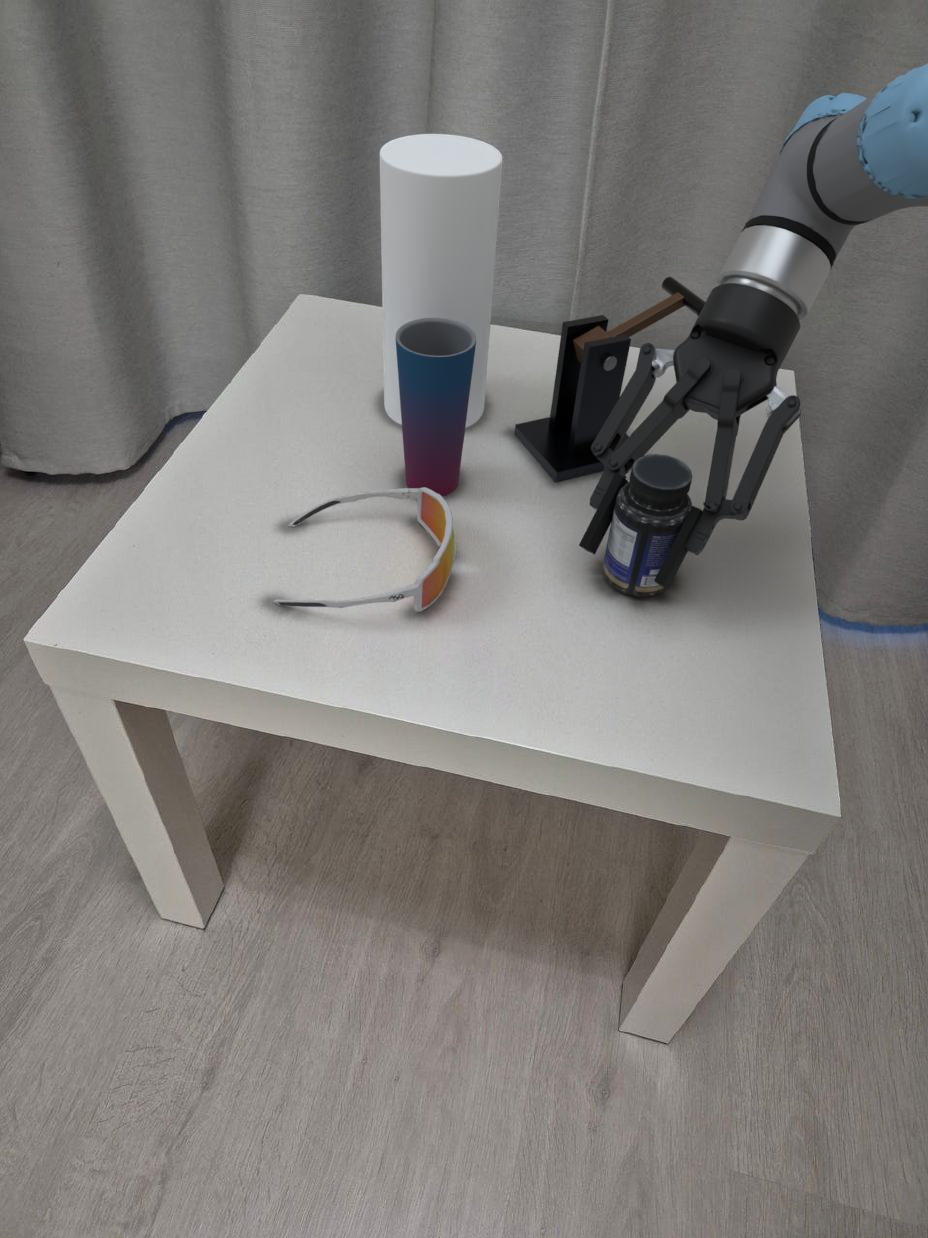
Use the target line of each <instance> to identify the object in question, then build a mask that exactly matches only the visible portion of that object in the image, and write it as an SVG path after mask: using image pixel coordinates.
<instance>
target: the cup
mask: <svg viewBox="0 0 928 1238" xmlns="http://www.w3.org/2000/svg"><path fill="white" fill-rule="evenodd" d="M395 339H396V352H397V366H398V379H399V393H400V406H401V420H402V425H401V432H402V433H401V434H402V447H403V458H404V472H405V473H404V475H405V483H406V487H407V488H422V487H426V488H428V489H430V490H432V491H434V492H435V493H437V494H438V493H439V494H440V495H441V496H442V497H445V496H448V495H450V494H452V493H454V492H455V491H456V489H457V488H458V486H459V480H460V472H461V465H462V457H463V450H464V449H463V448H464V442H465V441H464V440H465V433H466V428H465V426H466V418H467V410H468V402H469V394H470V387H471V379H472V371H473V363H474V355H475V347H476V335H475V333H474V332H473V330H472V329H471V328H469V327H468V326H466V325H464V324H462V323H460V322H457V321H454V320H450V319H444V318H422V319H417V320H413V321H410V322H408V323H405V324H404V325H402V326H401V327H400V328H399V329H398V330H397V332H396V337H395Z"/></svg>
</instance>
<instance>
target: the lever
mask: <svg viewBox="0 0 928 1238" xmlns="http://www.w3.org/2000/svg"><path fill="white" fill-rule="evenodd" d="M661 288H662V290H664V292H665V293H667V294H669V297H667V298H665V299H663V300H661V301H660V302H658V303H656V304H654V305H653V306H651V307H649V308H647V309H645V310H644V311H642V312H640V313H638V314H637V315H635V316H632V317H631V318H630V319H628V320H626V321H624V322H623V323H620V324H619V325H617V326H615V327H613V328H612V329H610V330H607V332H605V331H604V330H603V329H602V328H601V327H599V326H597V327H595V328H594V329H592V330H590V331H588V332H587V333H585V334H583V335H581V336H579V337H578V338H576V339H574V340H573V342H574V347H575V351H576V355H577V360H578V361H579V362H580V363H581V362H582V356H583V349H584V343H585V342H589V341H594V340H600V339H605V338H610V337H615V336H621V335H627V336H628V337H629V338H630V337H632V336H634V335H636V334H639V333H640V332H641V331H643V330H645V329H647V328H648V327H650V326H652V325H654V324H656V323H657V322H659V321H661V320H663V319H664V318H667V317H668V316H669V315H671V314H674V312H676V311H678V310H681V309H682V308H684V307H685V308H687V309H688V310H690V312H692V313H693V314H695V315H696V316H697V317H698V316H699V314H700V312H701V310H702V308H703V306H704V304H705V302H706V300H704V299H703V298H701V297H700V296H698V295H697V294H696V293H695V292H693V291H691V290H690V289H689V288H688V287H686V286H685V285H684V284H682V283H681V282H679V281H678V280H677V279H675V278H674V277H673V276H667V277H665V278H664V279H663V281H662V283H661Z"/></svg>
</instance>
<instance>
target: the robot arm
mask: <svg viewBox="0 0 928 1238" xmlns="http://www.w3.org/2000/svg"><path fill="white" fill-rule="evenodd" d="M782 145H783V146H782V147H781V149H780V151H779V155H778V158H777V160H776V162H775V164H774V165H773V168H772V169H771V172H770V174H769V176H768V178H767V180H766V182H765V184H764V185H763V188H762V190H761V192H760V194H759V196H758V198H757V200H756V202H755V204H754V206H753V208H752V210H751V212H750V213H749V216H748V218H747V220H746V222H745V225H744V226H743V228H742V230H741V232H740V234H739V236H738V238H737V240H736V241H735V243H734V246H733V247H732V250H731V251H730V253H729V255H728V257H727V259H726V261H725V262H724V265H723V267H722V268H721V271H720V272H719V275H718V276H717V283H718V285H717V286H715V287H713V288H712V289H711V291H710V292H709V295H708V297H707V298H706V300H705V304H704V306H703V308H702V310H701V312H700V314H699V316H697V318H696V320H695V322H694V324H693V326H692V328H691V330H690V333H689V335H688V336H687V338H686V339H685V340H683V342H682V343H680V344H679V345H677V346H676V348H675V349H670V348H669V349H668V348H664V349H663V348H655V346H654V344H652V343H650V342H646V343H644V344H642V345H641V346H640V348H639V353H638V357H637V362H636V367H635V371H634V372H633V374H632V375H631V377H630V379H629V381H628V383H627V384H626V386H625V387H624V389H623V391H621V394H620V398H619V399H618V401H617V403H616V404H615V406H614V408H613V409H612V411H611V413H610V415H609V416H608V418H607V420H606V421H605V423H604V425H603V427H602V428H601V430H600V432H599V433H598V435H597V437H596V438H595V440H594V442H593V444H592V446H591V451H592V453H593V454H594V455H595V456H596V457H597V458H598V459H599V460H600V461H601V462H602V463H603V465H604V471H602V474H601V476H600V478H599V480H598V482H597V484H596V486H595V487H594V490H593V492H592V494H591V496H590V499H589V506H590V507H591V508H593V510H595V512H594V514H593V516H592V518H591V520H590V522H589V524H588V527H586V530H585V532H584V535H583V536H582V538H581V540H580V542H579V544H578V546H579V547H580V548H582V549H583V550H584V551H587V552H589V553H590V554H593V555H596V553H597V552H598V550H599V547H600V546H601V543H602V542H603V539H604V537H605V536H606V534H607V532H608V530H609V529H610V527H611V522H612V517H613V512H614V507H615V503H616V497H617V494H618V492H619V491H620V489H621V488H622V487H623V486H624V485H625V484H626V483H628V482H629V480H628V479H627V478H628V477H627V476H626V475H627V474H628V473H629V472H631V469H632V466H633V464H634V462H635V461H636V460H637V459H639V458H640V457H643V456H646V454H647V453H649V451H650V450H651V449H652V448H653V446H655V444H656V443H658V441H659V440H660V439H661V438H662V437H663V436H664V435H665V434H666V433H667V432H668V431H669V430H670V429H671V428H672V426H673V425H674V424H676V422H677V421H678V420H680V419H682V418H683V417H685V416H686V415H687V414H688V412H689V411H692V412H696V413H702V414H707V415H708V416H709V417H711V418H712V419H714V420H716V421H717V427H716V434H715V439H714V445H713V452H712V456H711V457H712V458H711V463H710V469H709V475H708V480H707V487H706V493H705V499H704V500H705V501H703V504H702V505H703V508H702V509H701V508H698V507H696V506H694V505H692V508H691V510H690V512H689V514H688V516H687V518H686V520H685V522H684V523H683V525H682V527H681V529H680V531H679V533H678V535H677V537H676V539H675V541H674V543H673V545H672V547H671V549H670V551H669V553H668V554H667V556H666V558H665V560H664V562H663V564H662V566H661V568H660V570H659V572H658V574H657V576H656V578H655V580H654V581H655V582H656V583H657V584H659V585H660V586H662V587H664V588H666V590H669V589H670V587H671V585H672V583H673V581H674V579H675V577H676V575H677V573H678V572H679V569H680V567H681V565H682V564H683V562H684V560H685V558H686V556H687V555H688V553H691V554H693V555H696V556H699V555H700V554H701V553H702V552H703V551H704V549H705V547H706V545H707V544H708V542H709V539H710V537H712V534H713V533H714V530H715V529H716V527H717V524H718V523H719V522H720V521H722V520H725V519H726V520H727V519H728V520H736V521H744V520H746V519H747V518H748V517H749V514H750V512H751V510H752V507H753V505H754V503H755V501H756V498H757V496H758V494H759V491H760V489H761V487H762V485H763V482H764V480H765V478H766V475H767V473H768V471H769V469H770V466H771V464H772V462H773V460H774V458H775V455H776V452H777V450H778V448H779V447H780V443H781V441H782V440H783V439H782V438H783V436H784V434H785V433H786V432H787V431H789V429H790V428H791V427H792V426H793V425H794V424H795V422H796V421H797V420H799V418H800V417H801V414H802V406H801V399H800V398H799V396H797V395H795V394H794V395H793V394H792V395H788V394H787V393H786V392H784V391H783V390H781V389H780V388H779V387H777V386H778V385H777V376H778V373H779V370H780V368H781V366H782V364H783V363H784V362H785V359H786V357H787V355H788V353H789V351H790V349H791V347H792V346H793V343H794V341H795V339H796V337H797V335H798V334H799V331H800V330H801V322H800V320H803V319H805V318H806V317H807V316H808V314H809V313H810V310H811V308H812V307H813V304H814V302H815V301H816V299H817V296H818V295H819V294H820V291H821V289H822V287H823V285H824V284H825V282H826V280H827V278H828V275H829V273H830V271H831V270H832V268H833V266H834V264H835V262H836V259H837V257H838V256H839V254H840V252H841V250H842V248H843V246H844V245H845V243H846V241H847V239H848V237H849V235H850V233H851V232H852V231H853V229H854V228H855V227H856V226H859V225H862V224H866V223H869V222H871V221H874V220H877V219H879V218H882V217H883V216H887V215H889V214H891V213H893V212H896V211H899V210H902V209H908V208H917V207H918V208H919V207H928V63H925V64H924V65H921V66H917V67H915V68H912V69H910V70H909V71H907V72H906V73H905V74H901V75H899V76H897V77H896V78H895V79H893V81H891V82H889V83H887V84H886V85H885V86H884V87H883V88H881V89H880V90H878V91H877V92H875V93H874V94H872V95H870V96H869V97H865V96H862V95H860V94H855V93H850V92H842V93H839V94H838V95H836V96H835V95H831V94H825V95H823V96H820V97H819V98H816V99H815V100H813V101H811V102H810V104H809V105H808V106H807V107H806V108H805V109H804V111H803V112H802V114H801V116H800V117H799V119H798V121H797V123H796V124H795V125H794V128H793V129H792V131H790V133H789V134H788V135H787V137H786V138H785V140H784V141H783V143H782ZM670 367H673V369H674V376H675V382H676V383H675V384H673V385H672V387H671V388H670V389H669V390H668V391H667V392H666V394H664V397H663V399H662V400H661V402H660V403H659V404H658V405H657V406H656V408H654V409H653V410H652V412H650V414H648V416H647V417H646V418H645V419H644V420H643V421H642V422H641V423H640V424H639V425H638V427H636V428H635V430H633V431H632V433H631V434H630V435H628V436H629V437H628V438H627V439H626V440H625V442H624V443H623V444H622V445H621V446H620V447H619V448H618V449H617V447H618V446H619V444H620V442H621V441H622V439H623V437H624V436H625V434H627V432H628V431H629V429H630V427H631V426H632V423H633V422H634V420H635V419H636V418H637V415H638V413H639V412H640V410H641V408H642V407H643V405H644V404H645V402H646V400H647V398H648V397H649V395H650V394H651V391H652V390H653V388H654V386H655V384H656V381H657V378H661V377H663V376H664V375H665V373H666V371H667V370H668V368H670ZM766 401H768V406H767V407H766V410H765V411H766V412H765V413H766V417H767V420H766V422H765V423H764V426H763V428H762V430H761V432H760V435H759V437H758V438H757V439H758V440H757V442H756V444H755V446H754V448H753V450H752V453H751V456H750V457H749V461H748V463H747V465H746V466H745V469H744V472H743V474H742V476H741V478H740V480H739V483H738V485H737V488H736V490H735V492H734V495H733V497H732V499H727V493H728V488H729V483H730V477H731V470H732V466H733V465H732V464H733V459H734V452H735V446H736V442H737V441H736V440H737V436H738V434H739V428H740V423H741V415H744V414H745V413H746V412H748V411H750V410H751V409H754V408H755V407H757V406H759V405H760V404H762V403H764V402H766ZM616 449H617V450H616Z"/></svg>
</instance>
